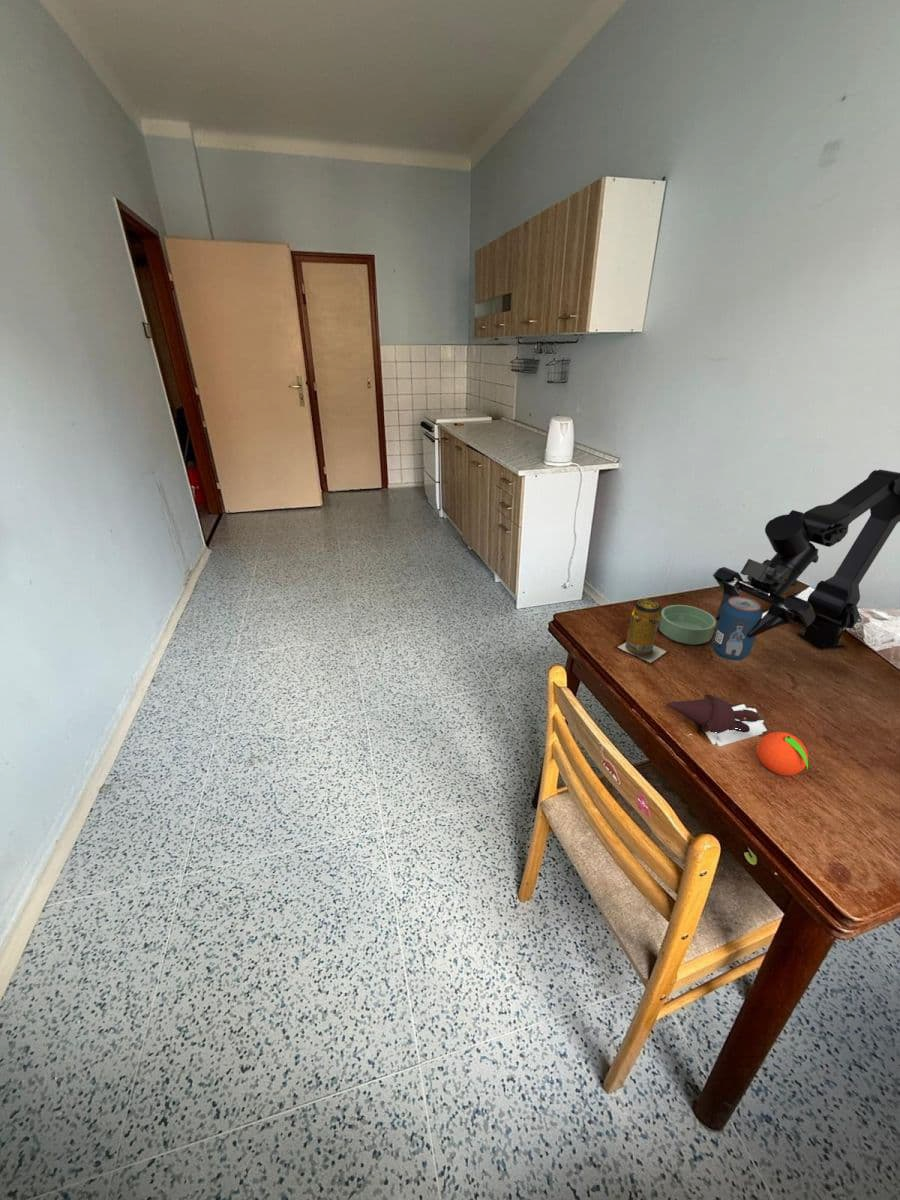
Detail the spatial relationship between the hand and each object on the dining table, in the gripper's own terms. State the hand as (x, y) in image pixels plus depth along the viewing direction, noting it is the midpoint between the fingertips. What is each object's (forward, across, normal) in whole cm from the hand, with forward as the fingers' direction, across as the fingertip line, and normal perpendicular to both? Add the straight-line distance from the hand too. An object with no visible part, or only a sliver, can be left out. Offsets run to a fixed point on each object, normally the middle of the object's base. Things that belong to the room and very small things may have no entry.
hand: (732, 627), depth 94 cm
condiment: (+14, -16, +5) cm, 21 cm away
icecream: (+19, +9, 0) cm, 21 cm away
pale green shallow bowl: (+3, -17, +16) cm, 24 cm away
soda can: (+4, 0, +6) cm, 7 cm away
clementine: (+18, +21, +1) cm, 28 cm away
